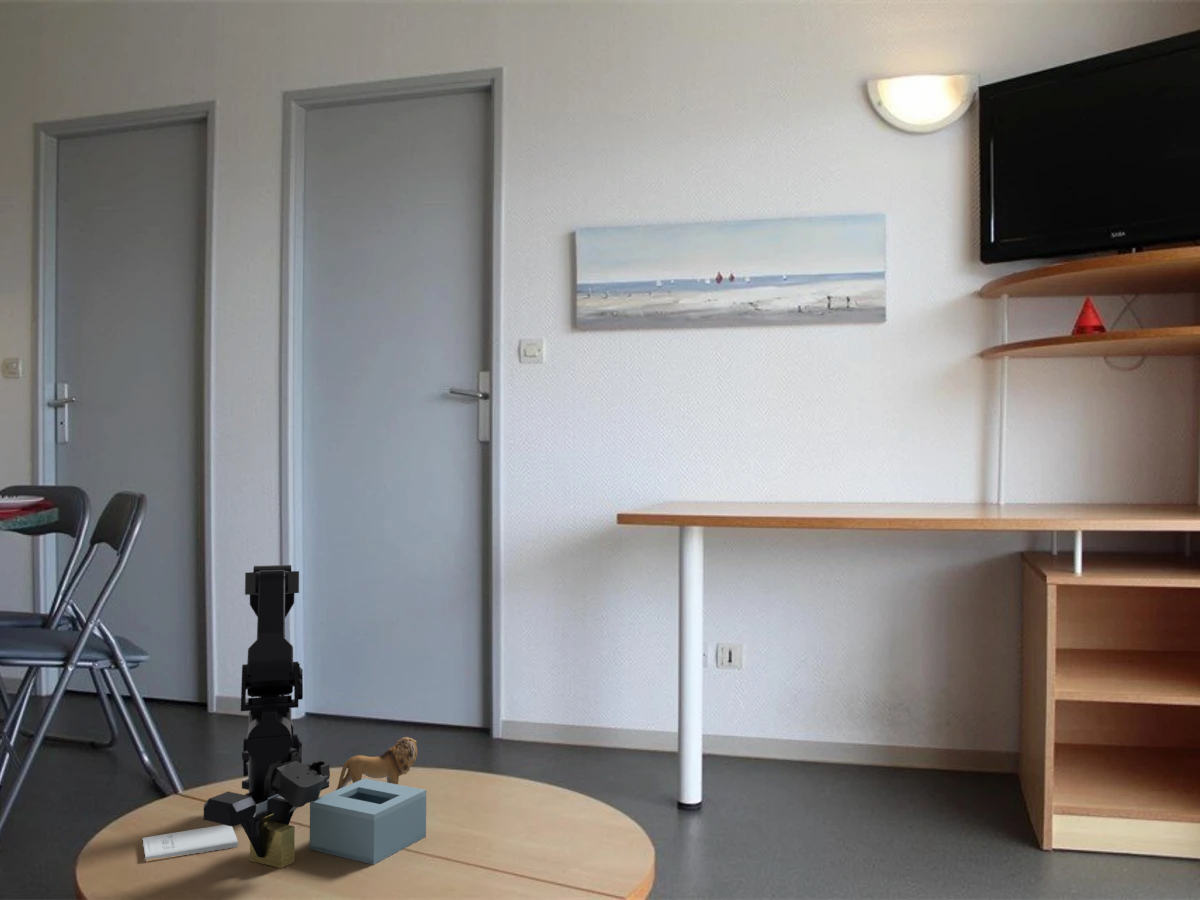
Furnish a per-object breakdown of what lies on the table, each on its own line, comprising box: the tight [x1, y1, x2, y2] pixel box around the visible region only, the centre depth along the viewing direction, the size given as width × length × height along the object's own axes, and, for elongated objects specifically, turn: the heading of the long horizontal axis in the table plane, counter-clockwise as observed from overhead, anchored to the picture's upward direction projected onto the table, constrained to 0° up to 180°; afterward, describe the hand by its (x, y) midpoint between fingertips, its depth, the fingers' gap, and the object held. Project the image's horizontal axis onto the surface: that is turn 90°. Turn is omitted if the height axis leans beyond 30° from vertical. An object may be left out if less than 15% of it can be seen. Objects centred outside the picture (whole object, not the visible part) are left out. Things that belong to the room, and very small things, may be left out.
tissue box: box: [309, 777, 427, 865], centre depth 147 cm, size 12×12×7 cm
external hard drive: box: [141, 824, 239, 860], centre depth 146 cm, size 2×8×12 cm
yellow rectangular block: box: [249, 821, 296, 869], centre depth 140 cm, size 6×2×5 cm, turn 63°
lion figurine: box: [335, 736, 418, 791], centre depth 169 cm, size 15×5×9 cm, turn 115°
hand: (268, 853), depth 140 cm, fingers closed on yellow rectangular block, 2 cm apart
